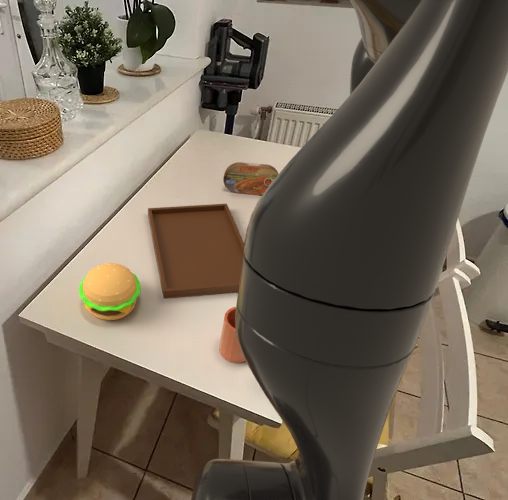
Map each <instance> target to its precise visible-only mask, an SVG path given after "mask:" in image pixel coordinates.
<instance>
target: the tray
mask: <svg viewBox="0 0 508 500" xmlns="http://www.w3.org/2000/svg"><path fill="white" fill-rule="evenodd" d="M147 219H148V223H149V228H150V233H151V238H152V244H153V249H154V255H155V260H156V265H157V271H158V276H159V281H160V288H161V293H162V298H163V299H170V298H171V299H173V298H184V297H196V296H207V295H220V294H233V293H238V290H239V282H240V274H241V267H242V259H243V252H244V243H245V241H244V239H243V237H242V235H241V232H240V230H239V227H238V226H237V223H236V221H235V219H234V217H233V215H232V213H231V210H230V207H229V206H228V204H227V203H213V204H198V205H196V204H195V205H179V206H163V207H148V208H147Z"/></svg>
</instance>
